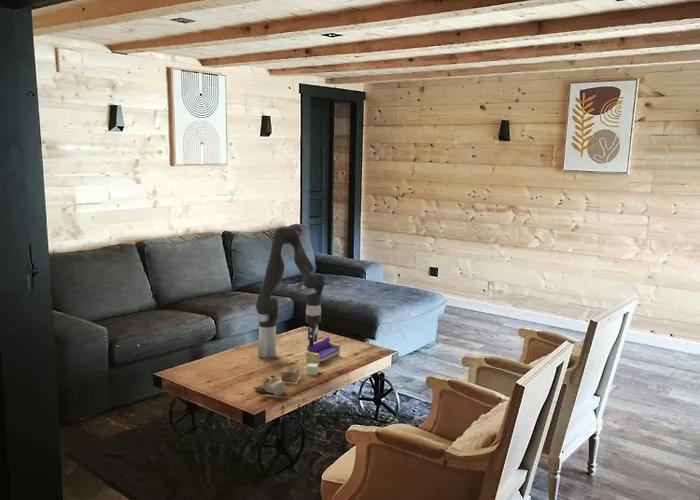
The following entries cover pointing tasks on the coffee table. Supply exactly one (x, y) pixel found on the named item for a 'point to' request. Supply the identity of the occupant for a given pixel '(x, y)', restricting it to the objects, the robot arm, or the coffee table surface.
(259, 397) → the coffee table surface
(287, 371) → the walnut base block
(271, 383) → the ceramic sculpture
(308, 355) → the toy sofa
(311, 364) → the sage cube
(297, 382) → the mat
